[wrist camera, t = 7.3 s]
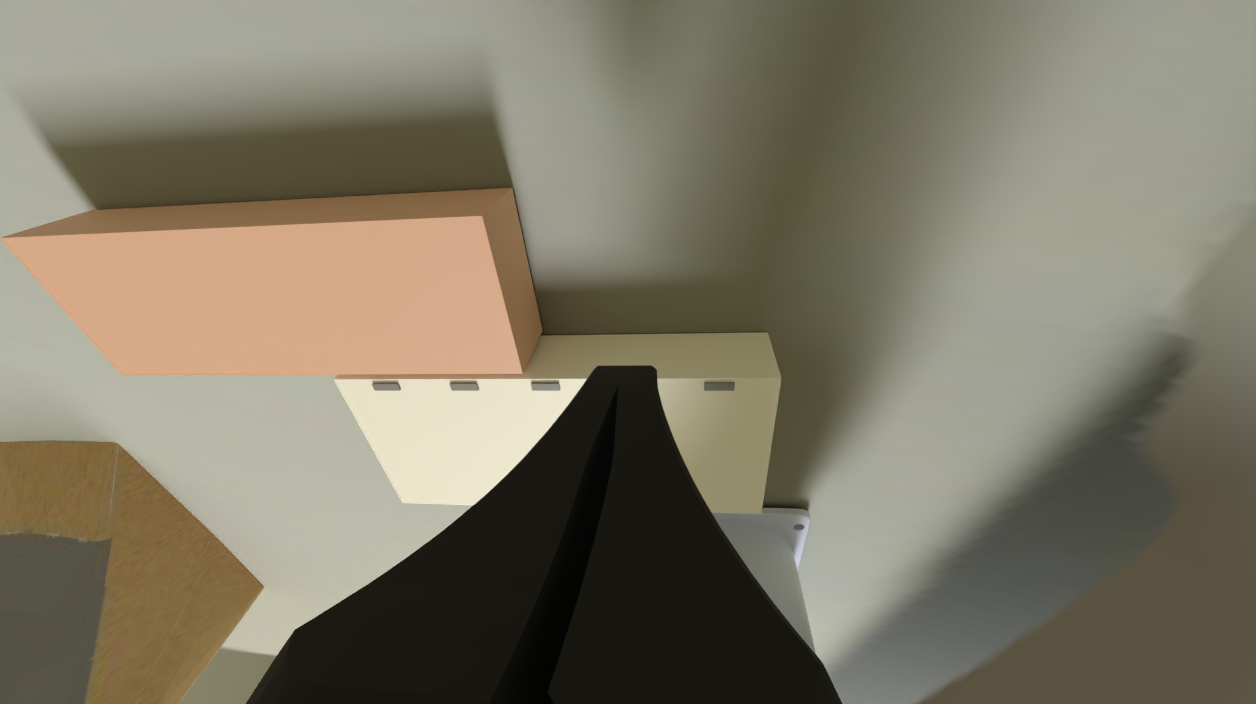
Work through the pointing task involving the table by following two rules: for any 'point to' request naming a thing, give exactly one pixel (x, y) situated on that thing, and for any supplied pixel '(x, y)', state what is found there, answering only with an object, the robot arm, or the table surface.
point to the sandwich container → (106, 580)
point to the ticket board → (531, 402)
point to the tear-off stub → (297, 285)
